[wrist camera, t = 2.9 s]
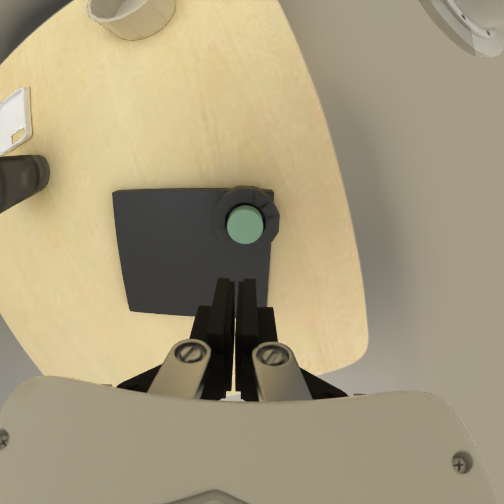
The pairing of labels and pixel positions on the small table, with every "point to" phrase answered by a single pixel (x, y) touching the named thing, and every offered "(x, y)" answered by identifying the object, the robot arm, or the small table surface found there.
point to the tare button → (245, 224)
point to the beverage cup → (21, 178)
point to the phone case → (15, 119)
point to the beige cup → (131, 16)
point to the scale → (189, 246)
